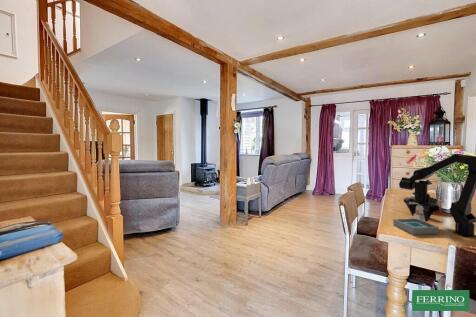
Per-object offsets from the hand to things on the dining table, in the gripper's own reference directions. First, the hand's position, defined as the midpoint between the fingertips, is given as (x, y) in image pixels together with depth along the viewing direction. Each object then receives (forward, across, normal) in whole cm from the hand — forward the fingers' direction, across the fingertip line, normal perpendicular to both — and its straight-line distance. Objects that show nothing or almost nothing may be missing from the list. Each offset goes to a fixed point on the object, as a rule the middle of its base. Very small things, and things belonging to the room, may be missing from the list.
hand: (419, 218), depth 135 cm
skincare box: (+3, +14, -10) cm, 17 cm away
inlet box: (+2, -9, +10) cm, 14 cm away
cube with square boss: (+2, 0, 0) cm, 3 cm away
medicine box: (+3, +22, -22) cm, 31 cm away
